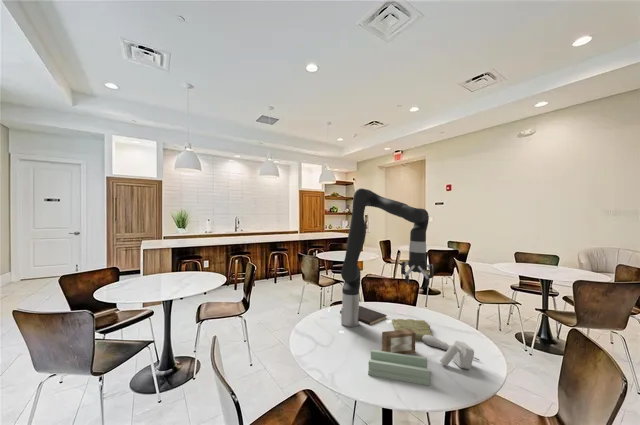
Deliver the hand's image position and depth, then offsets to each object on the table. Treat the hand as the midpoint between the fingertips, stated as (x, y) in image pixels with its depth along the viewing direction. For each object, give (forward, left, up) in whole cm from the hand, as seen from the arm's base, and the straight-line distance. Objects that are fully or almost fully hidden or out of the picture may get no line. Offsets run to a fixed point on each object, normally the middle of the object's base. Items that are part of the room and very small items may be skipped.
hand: (416, 285), depth 130 cm
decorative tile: (-1, +14, -29) cm, 32 cm away
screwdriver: (+14, -2, -29) cm, 32 cm away
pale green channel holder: (-8, -25, -28) cm, 38 cm away
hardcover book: (-29, +28, -29) cm, 50 cm away
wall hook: (+14, -14, -28) cm, 35 cm away
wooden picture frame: (-8, -10, -28) cm, 31 cm away
